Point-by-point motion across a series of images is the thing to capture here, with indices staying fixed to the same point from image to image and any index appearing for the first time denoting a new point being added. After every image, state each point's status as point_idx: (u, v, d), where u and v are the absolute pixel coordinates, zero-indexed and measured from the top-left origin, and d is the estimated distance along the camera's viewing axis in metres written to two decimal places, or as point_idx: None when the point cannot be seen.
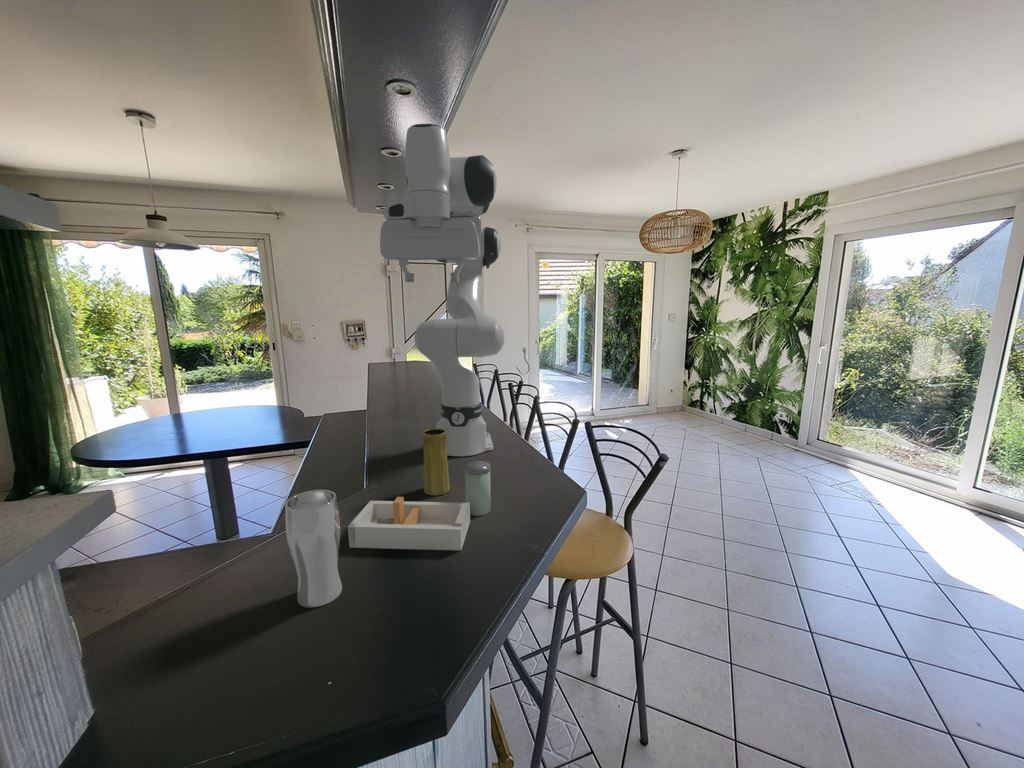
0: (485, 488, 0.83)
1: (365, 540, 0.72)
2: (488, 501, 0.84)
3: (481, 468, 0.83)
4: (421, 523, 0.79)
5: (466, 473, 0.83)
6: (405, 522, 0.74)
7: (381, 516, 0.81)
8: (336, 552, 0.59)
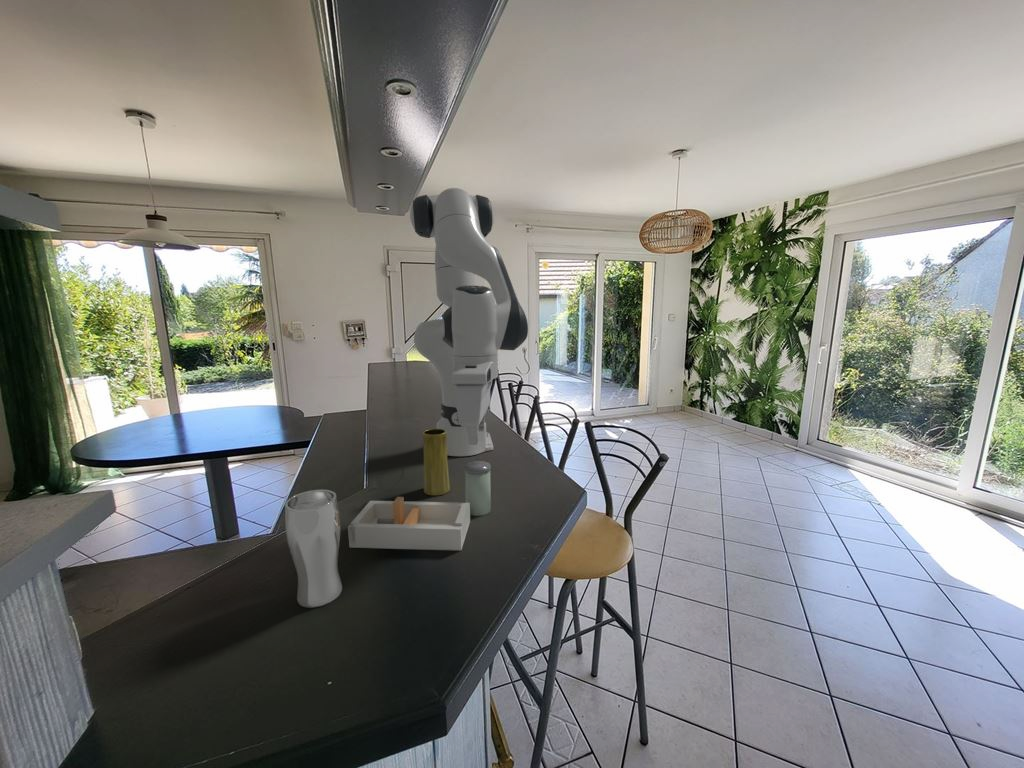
0: (485, 488, 0.83)
1: (365, 540, 0.72)
2: (488, 501, 0.84)
3: (481, 468, 0.83)
4: (421, 523, 0.79)
5: (466, 473, 0.83)
6: (405, 522, 0.74)
7: (381, 516, 0.81)
8: (336, 552, 0.59)
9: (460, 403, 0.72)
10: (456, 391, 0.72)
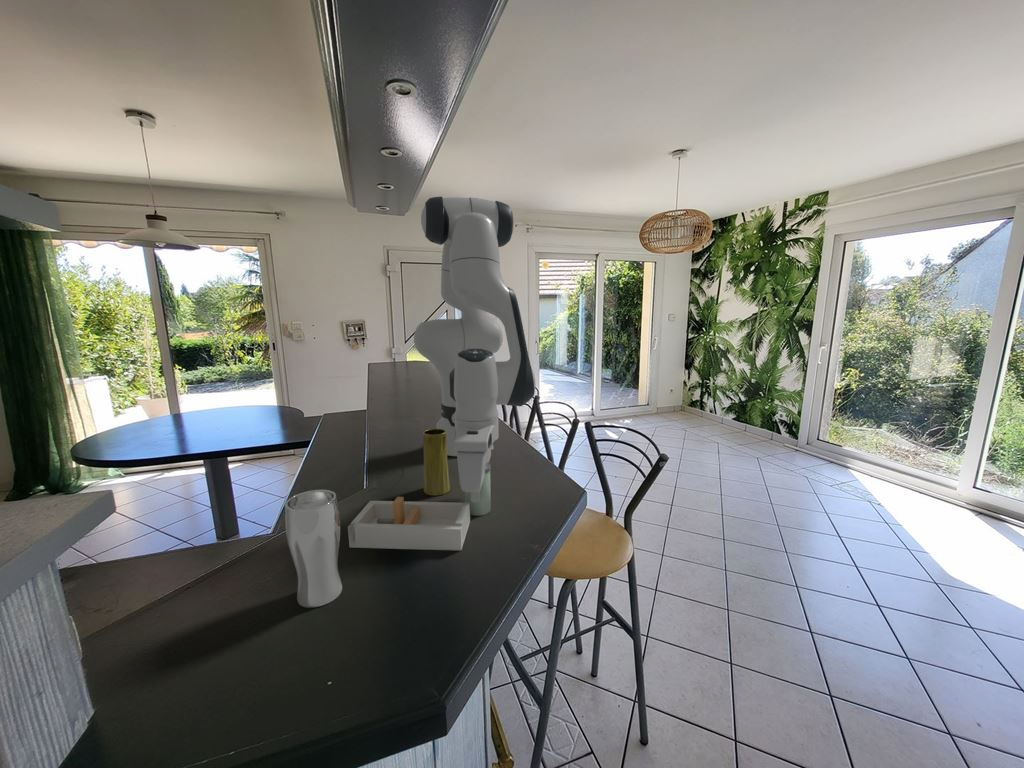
0: (485, 488, 0.83)
1: (365, 540, 0.72)
2: (488, 501, 0.84)
3: None
4: (421, 523, 0.79)
5: None
6: (405, 522, 0.74)
7: (381, 516, 0.81)
8: (336, 552, 0.59)
9: (462, 470, 0.74)
10: (458, 458, 0.75)
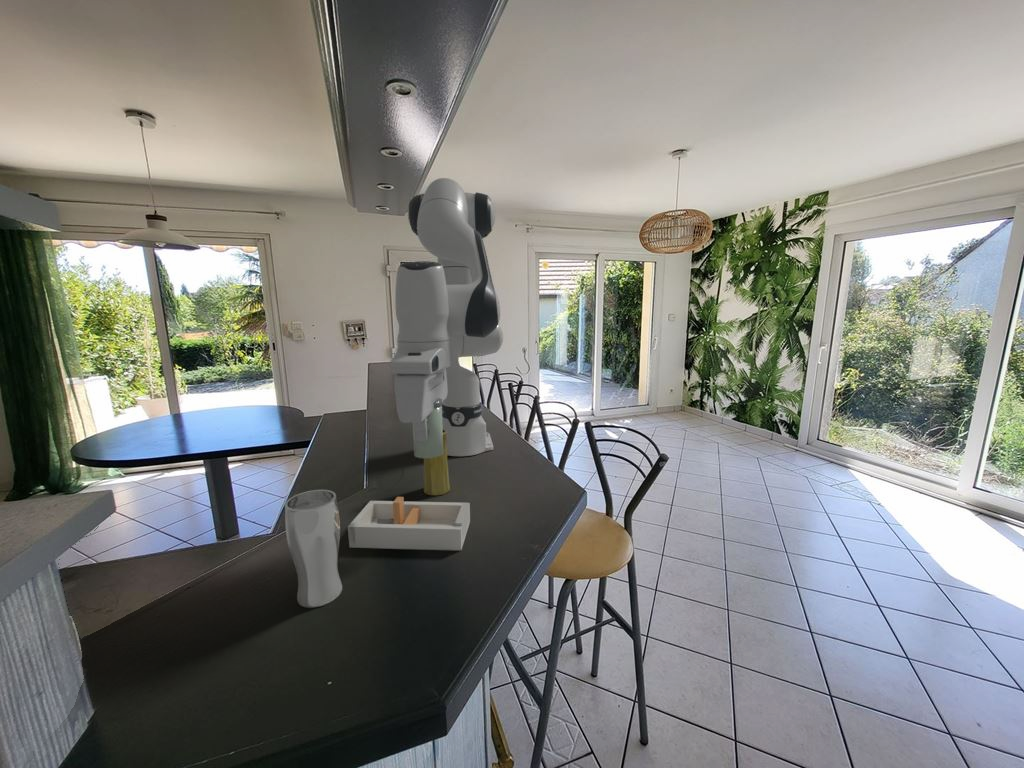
0: (435, 425, 0.71)
1: (365, 540, 0.72)
2: (439, 442, 0.72)
3: None
4: (421, 523, 0.79)
5: None
6: (405, 522, 0.74)
7: (381, 516, 0.81)
8: (336, 552, 0.59)
9: (399, 396, 0.62)
10: (395, 382, 0.63)
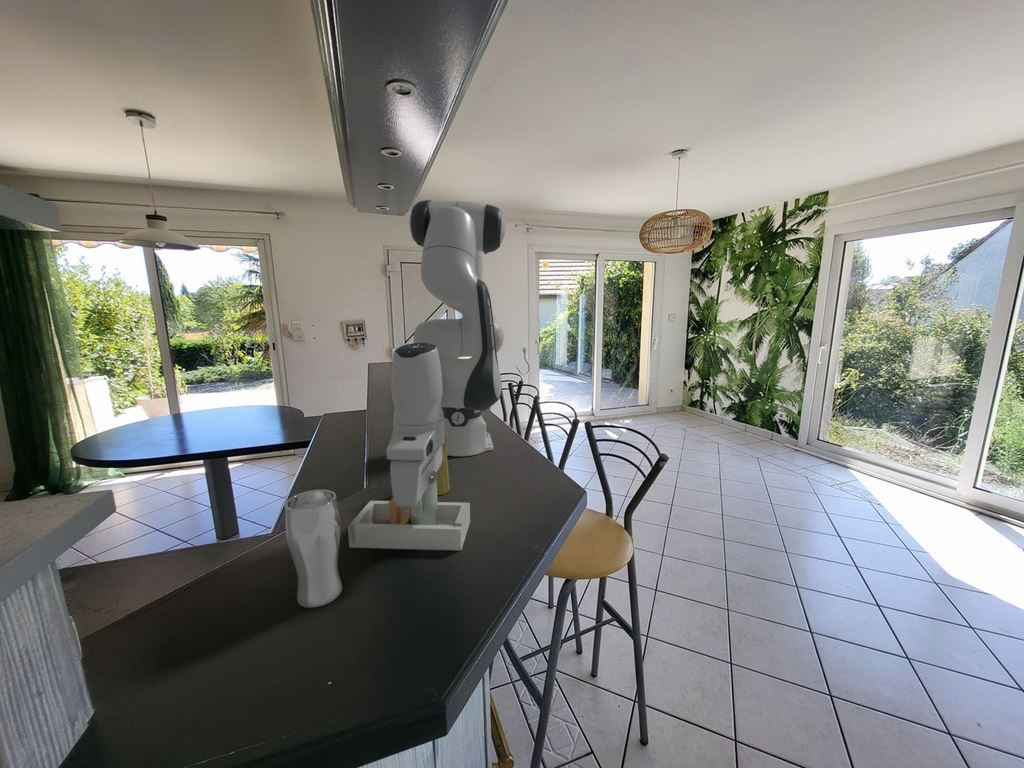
0: (429, 500, 0.74)
1: (365, 540, 0.72)
2: (434, 515, 0.75)
3: None
4: None
5: None
6: (401, 522, 0.74)
7: (381, 516, 0.81)
8: (336, 552, 0.59)
9: (395, 482, 0.65)
10: (391, 468, 0.65)
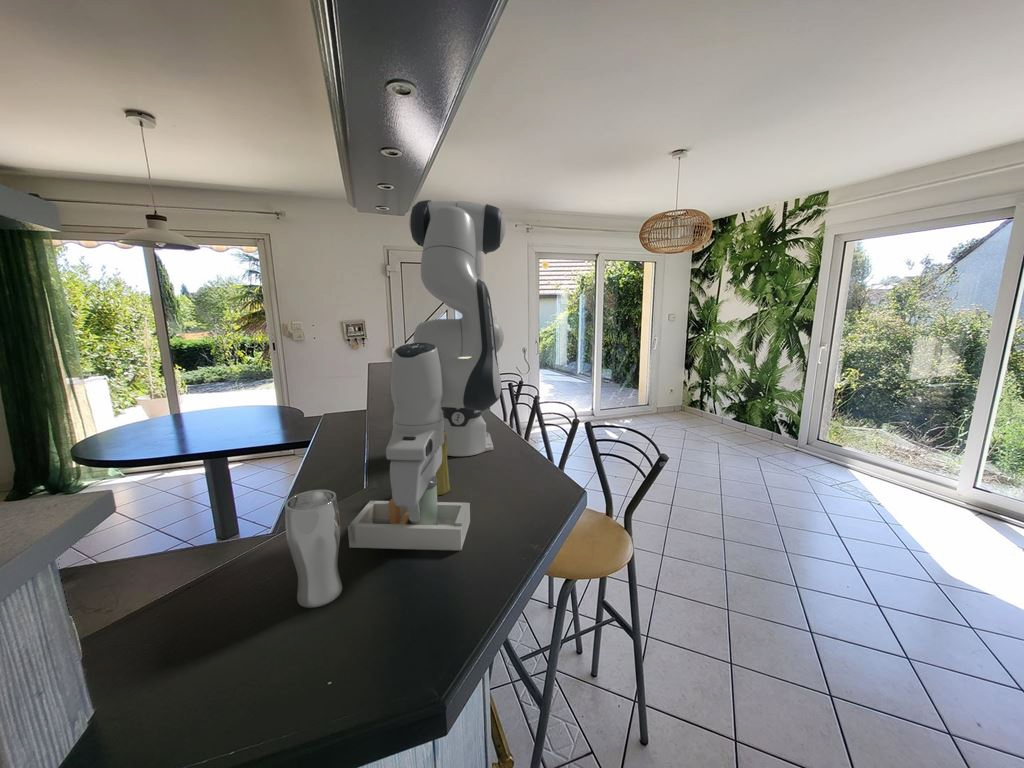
0: (429, 505, 0.74)
1: (365, 540, 0.72)
2: (434, 520, 0.75)
3: None
4: None
5: None
6: (401, 522, 0.74)
7: (381, 516, 0.81)
8: (336, 552, 0.59)
9: (394, 482, 0.65)
10: (390, 468, 0.65)
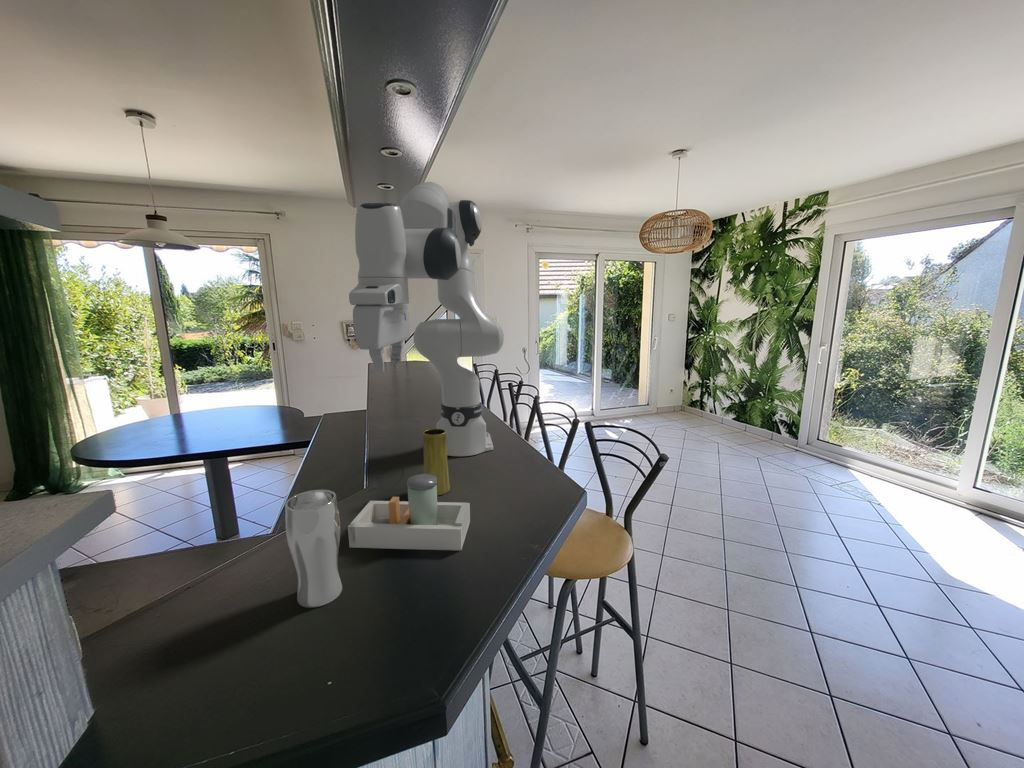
0: (429, 505, 0.74)
1: (365, 540, 0.72)
2: (434, 520, 0.75)
3: (424, 483, 0.73)
4: None
5: (408, 488, 0.74)
6: (401, 522, 0.74)
7: (381, 516, 0.81)
8: (336, 552, 0.59)
9: (357, 324, 0.68)
10: (353, 311, 0.68)
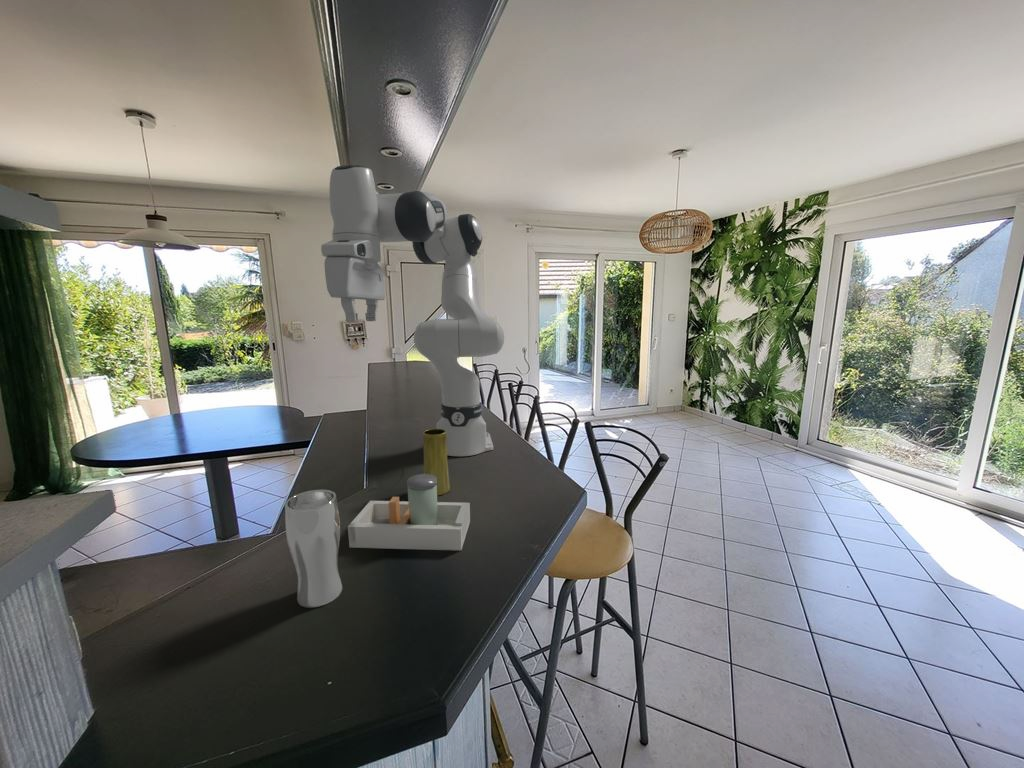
0: (429, 505, 0.74)
1: (365, 540, 0.72)
2: (434, 520, 0.75)
3: (424, 483, 0.73)
4: None
5: (408, 488, 0.74)
6: (401, 522, 0.74)
7: (381, 516, 0.81)
8: (336, 552, 0.59)
9: (328, 272, 0.73)
10: (325, 261, 0.74)
